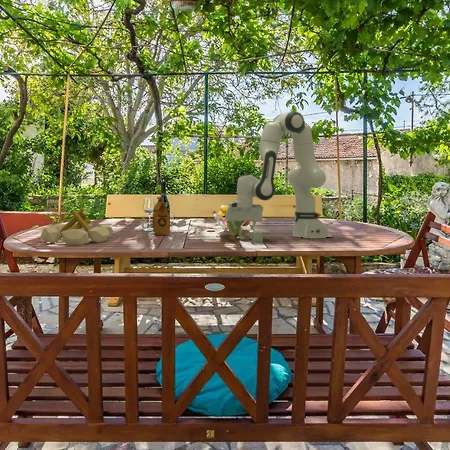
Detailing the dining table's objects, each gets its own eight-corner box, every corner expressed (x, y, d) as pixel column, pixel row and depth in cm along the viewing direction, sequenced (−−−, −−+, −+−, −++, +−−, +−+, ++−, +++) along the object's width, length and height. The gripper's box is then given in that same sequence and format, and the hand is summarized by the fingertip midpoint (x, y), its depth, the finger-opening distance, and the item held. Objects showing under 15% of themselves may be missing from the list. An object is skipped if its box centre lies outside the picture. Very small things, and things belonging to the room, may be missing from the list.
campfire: (124, 237, 227) (123, 207, 225) (88, 247, 195) (87, 212, 193) (70, 234, 237) (68, 205, 235) (27, 244, 204) (25, 210, 202)
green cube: (261, 240, 221) (261, 231, 220) (262, 241, 216) (262, 232, 215) (252, 240, 220) (252, 231, 220) (253, 241, 215) (253, 232, 215)
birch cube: (248, 238, 228) (248, 229, 227) (249, 239, 223) (249, 230, 223) (239, 238, 228) (239, 229, 227) (240, 239, 223) (240, 230, 222)
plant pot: (223, 235, 237) (224, 220, 236) (231, 233, 245) (231, 219, 244) (238, 236, 233) (238, 221, 232) (245, 234, 241) (245, 220, 240)
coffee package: (153, 236, 233) (153, 197, 230) (152, 232, 245) (151, 196, 242) (171, 235, 235) (170, 197, 232) (168, 232, 247) (168, 196, 244)
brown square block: (233, 240, 220) (233, 232, 220) (234, 242, 214) (234, 234, 213) (220, 240, 220) (220, 232, 219) (221, 242, 213) (221, 234, 213)
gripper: (262, 204, 227) (261, 228, 228) (225, 203, 225) (224, 228, 226) (264, 205, 220) (263, 230, 222) (226, 204, 219) (225, 229, 220)
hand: (243, 229), depth 224 cm, fingers open, 8 cm apart
